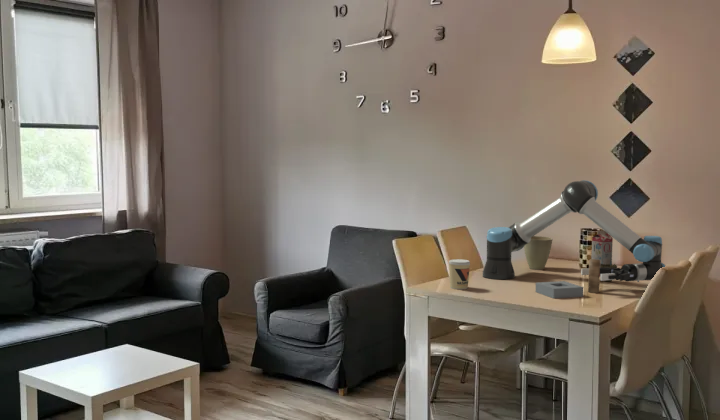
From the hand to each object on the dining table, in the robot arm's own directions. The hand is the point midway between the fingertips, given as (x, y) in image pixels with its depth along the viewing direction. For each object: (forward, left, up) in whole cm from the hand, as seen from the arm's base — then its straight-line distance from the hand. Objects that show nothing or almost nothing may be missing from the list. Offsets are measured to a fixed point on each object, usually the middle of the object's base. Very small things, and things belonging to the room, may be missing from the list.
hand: (591, 274), depth 298 cm
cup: (-20, +24, -8) cm, 32 cm away
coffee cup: (-24, -50, -8) cm, 56 cm away
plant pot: (-61, +11, -8) cm, 63 cm away
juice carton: (-35, +31, -8) cm, 48 cm away
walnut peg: (0, +2, -8) cm, 8 cm away
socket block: (0, -15, -8) cm, 17 cm away
